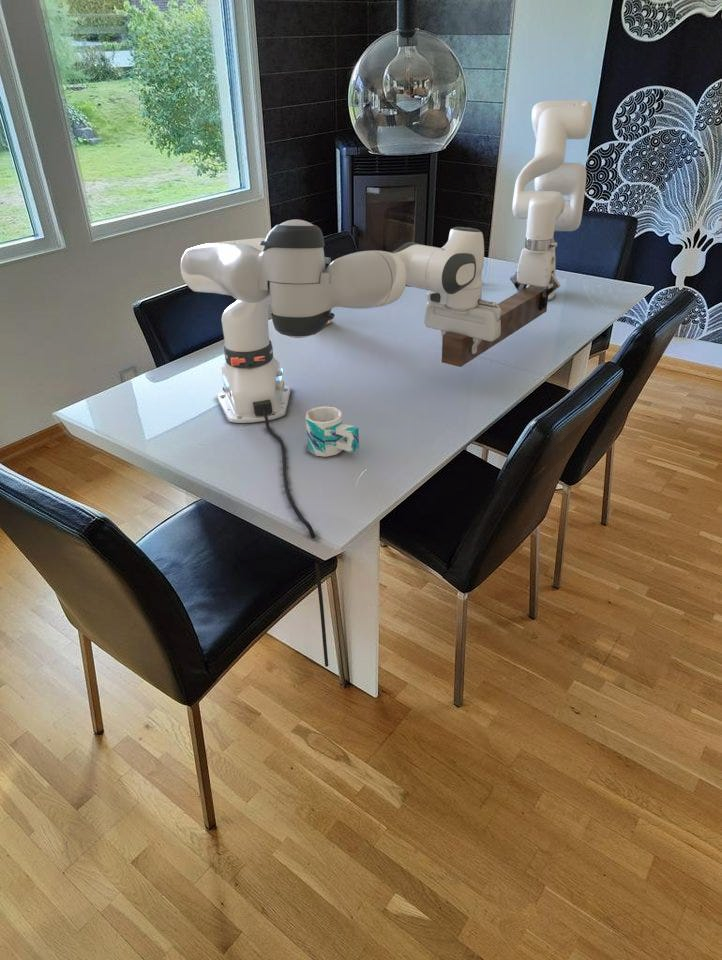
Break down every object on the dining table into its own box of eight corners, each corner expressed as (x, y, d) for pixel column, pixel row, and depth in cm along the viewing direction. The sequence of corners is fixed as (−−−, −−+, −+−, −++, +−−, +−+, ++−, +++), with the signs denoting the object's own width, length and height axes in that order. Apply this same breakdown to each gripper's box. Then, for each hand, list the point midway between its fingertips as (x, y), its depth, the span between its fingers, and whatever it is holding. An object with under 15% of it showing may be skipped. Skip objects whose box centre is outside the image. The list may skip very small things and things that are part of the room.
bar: (460, 367, 167) (462, 339, 163) (441, 362, 170) (442, 334, 166) (546, 311, 200) (549, 287, 196) (529, 308, 203) (531, 284, 199)
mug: (322, 435, 155) (320, 402, 150) (366, 448, 149) (365, 414, 145) (301, 451, 149) (297, 417, 145) (345, 465, 144) (343, 430, 139)
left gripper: (508, 299, 159) (503, 354, 167) (434, 286, 170) (433, 338, 178) (495, 307, 155) (491, 363, 163) (421, 293, 166) (420, 345, 173)
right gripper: (573, 245, 186) (564, 308, 196) (516, 237, 195) (511, 299, 205) (562, 251, 181) (554, 316, 191) (504, 243, 190) (499, 305, 200)
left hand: (460, 350), depth 170 cm, fingers closed on bar, 5 cm apart
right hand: (532, 306), depth 198 cm, fingers closed on bar, 5 cm apart
